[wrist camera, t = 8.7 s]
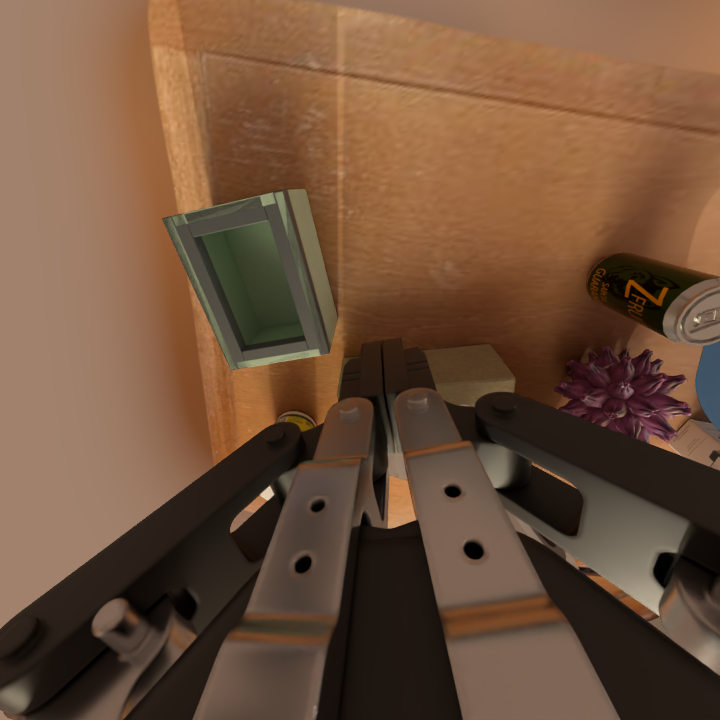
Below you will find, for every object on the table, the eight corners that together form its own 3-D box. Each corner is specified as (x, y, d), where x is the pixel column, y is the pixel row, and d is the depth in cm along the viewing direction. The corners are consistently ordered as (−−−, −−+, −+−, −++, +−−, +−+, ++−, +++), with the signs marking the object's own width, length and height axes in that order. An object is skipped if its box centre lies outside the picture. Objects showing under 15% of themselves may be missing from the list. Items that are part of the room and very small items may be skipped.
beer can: (638, 243, 33) (763, 271, 22) (636, 291, 35) (748, 337, 25) (582, 261, 34) (676, 295, 23) (583, 307, 36) (669, 357, 26)
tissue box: (351, 417, 45) (342, 521, 31) (340, 357, 40) (323, 447, 27) (488, 406, 43) (542, 511, 30) (493, 342, 39) (560, 430, 25)
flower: (571, 317, 38) (674, 348, 37) (524, 398, 44) (614, 427, 42) (618, 353, 28) (763, 396, 27) (551, 453, 33) (670, 493, 32)
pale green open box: (305, 188, 31) (212, 210, 33) (283, 189, 24) (161, 218, 25) (338, 319, 38) (259, 333, 39) (329, 354, 30) (231, 370, 31)
